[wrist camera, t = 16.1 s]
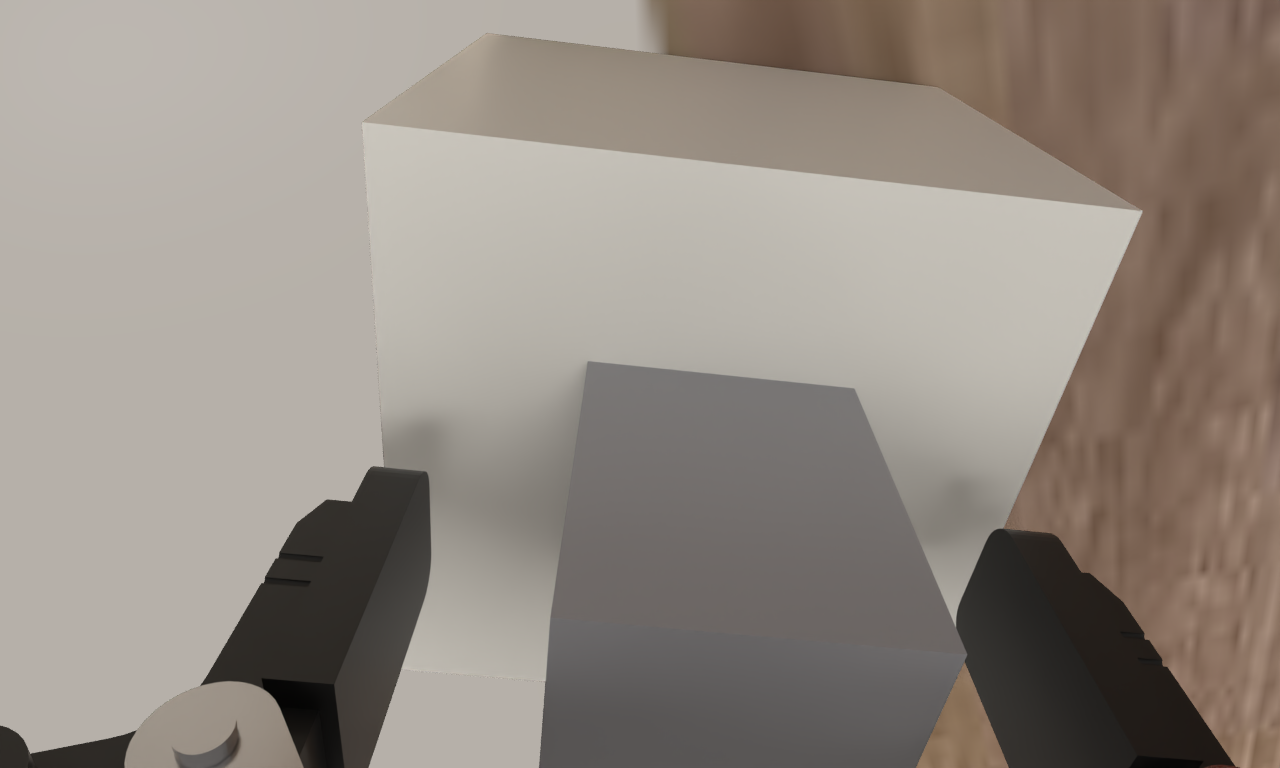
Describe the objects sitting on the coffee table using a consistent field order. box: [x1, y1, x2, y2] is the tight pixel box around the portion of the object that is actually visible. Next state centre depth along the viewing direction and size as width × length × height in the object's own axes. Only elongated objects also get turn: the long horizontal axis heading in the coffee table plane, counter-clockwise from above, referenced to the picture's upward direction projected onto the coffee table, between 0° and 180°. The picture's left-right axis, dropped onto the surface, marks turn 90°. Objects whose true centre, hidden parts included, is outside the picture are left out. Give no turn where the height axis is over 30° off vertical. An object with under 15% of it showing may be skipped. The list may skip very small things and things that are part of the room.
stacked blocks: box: [362, 33, 1143, 768], centre depth 15 cm, size 10×10×14 cm
